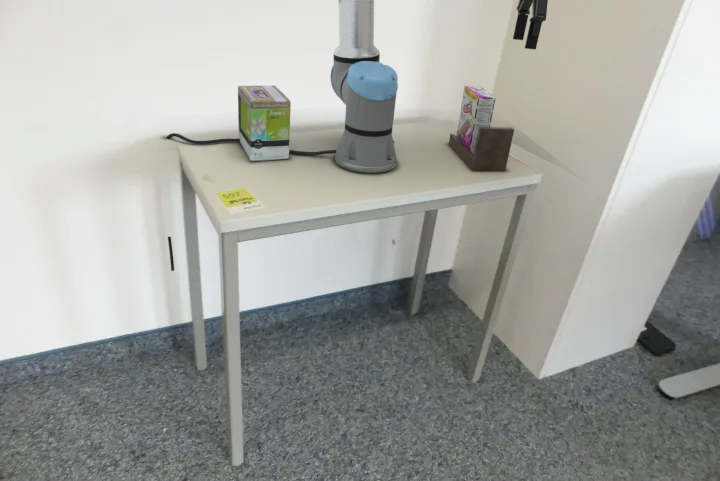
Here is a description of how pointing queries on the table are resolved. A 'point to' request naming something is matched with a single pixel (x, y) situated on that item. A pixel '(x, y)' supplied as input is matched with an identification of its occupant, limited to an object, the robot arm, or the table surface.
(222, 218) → the table surface
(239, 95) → the tea box
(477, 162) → the book rack
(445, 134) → the table surface
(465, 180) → the table surface
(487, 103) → the candy bar box
